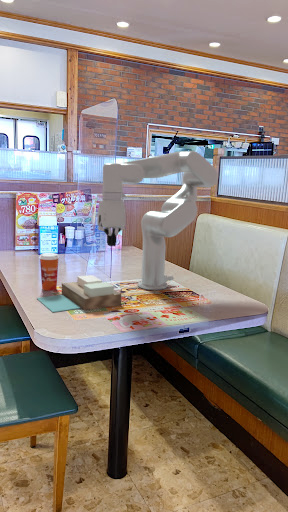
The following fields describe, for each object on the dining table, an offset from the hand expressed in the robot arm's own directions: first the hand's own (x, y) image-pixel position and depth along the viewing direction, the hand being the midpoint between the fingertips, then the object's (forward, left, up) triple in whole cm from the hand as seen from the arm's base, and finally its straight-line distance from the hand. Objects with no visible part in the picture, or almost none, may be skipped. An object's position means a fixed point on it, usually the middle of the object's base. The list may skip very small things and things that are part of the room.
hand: (111, 245), depth 154 cm
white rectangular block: (+9, 0, -15) cm, 18 cm away
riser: (+10, +3, -19) cm, 22 cm away
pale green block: (+10, +10, -15) cm, 21 cm away
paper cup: (+19, -16, -19) cm, 31 cm away
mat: (+22, +3, -19) cm, 30 cm away
